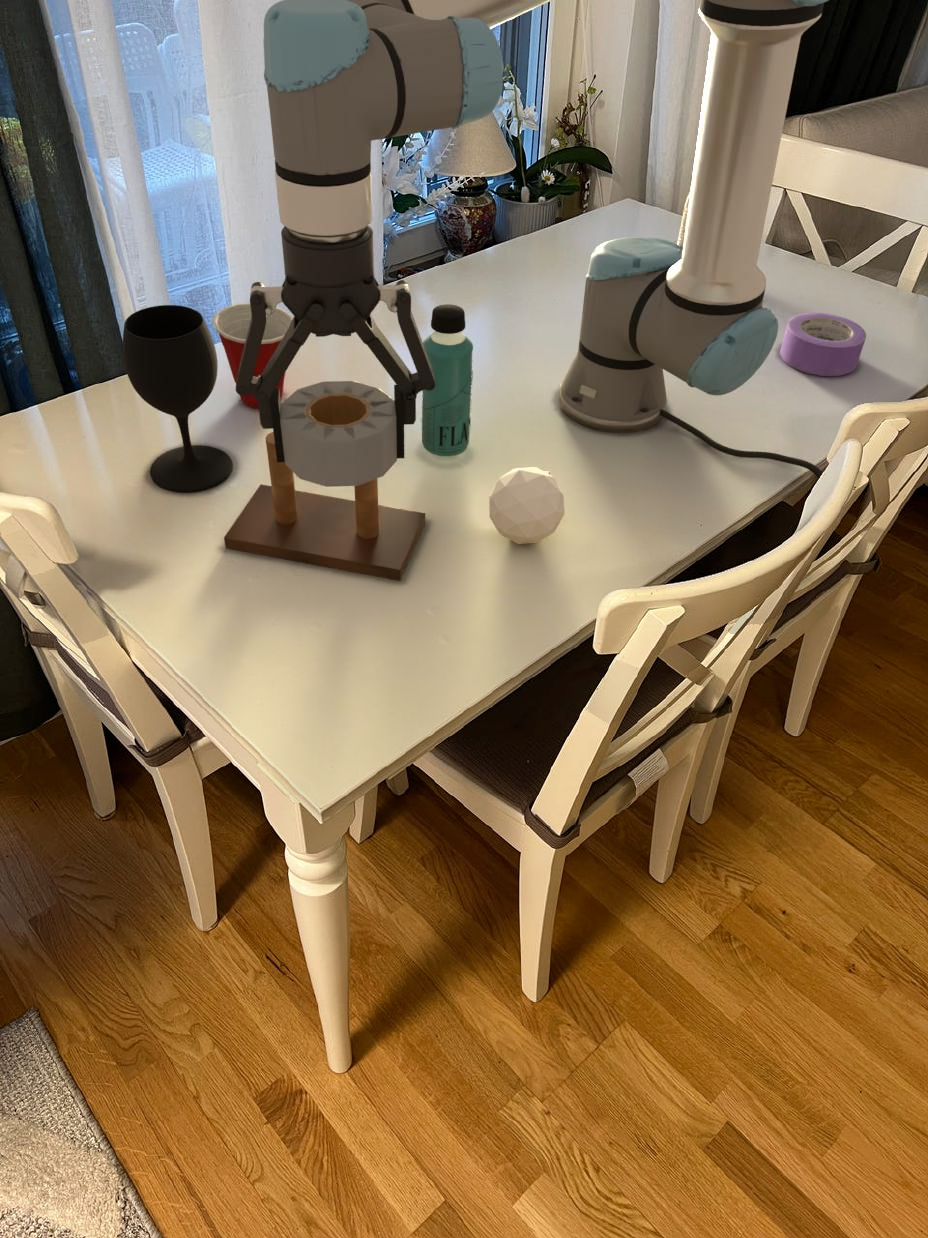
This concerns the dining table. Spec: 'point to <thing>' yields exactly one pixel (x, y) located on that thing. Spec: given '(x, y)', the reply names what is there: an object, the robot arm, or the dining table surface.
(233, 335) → the plastic cup
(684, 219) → the screw
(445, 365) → the beverage bottle
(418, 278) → the dining table surface
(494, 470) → the dining table surface
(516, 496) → the white faceted ball
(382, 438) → the duct tape
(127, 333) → the wine glass
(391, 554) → the peg rack
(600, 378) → the robot arm
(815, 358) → the tape roll
